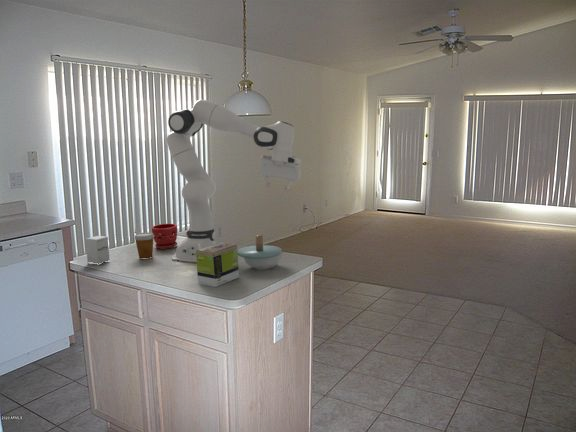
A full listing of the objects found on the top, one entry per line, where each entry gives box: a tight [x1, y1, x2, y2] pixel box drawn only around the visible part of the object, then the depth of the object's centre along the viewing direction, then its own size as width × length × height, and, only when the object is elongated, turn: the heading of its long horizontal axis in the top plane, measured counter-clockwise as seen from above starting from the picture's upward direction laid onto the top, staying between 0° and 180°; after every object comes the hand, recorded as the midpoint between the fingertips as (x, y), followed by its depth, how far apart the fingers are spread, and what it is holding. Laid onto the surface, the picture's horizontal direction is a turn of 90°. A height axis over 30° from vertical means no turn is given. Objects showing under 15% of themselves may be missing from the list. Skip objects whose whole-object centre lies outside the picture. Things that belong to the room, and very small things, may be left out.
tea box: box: [196, 241, 240, 288], centre depth 203 cm, size 15×10×15 cm, turn 145°
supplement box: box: [85, 235, 110, 264], centre depth 236 cm, size 7×7×13 cm
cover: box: [237, 234, 283, 258], centre depth 221 cm, size 20×20×8 cm
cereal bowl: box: [243, 253, 282, 271], centre depth 223 cm, size 17×17×7 cm
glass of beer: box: [133, 232, 154, 259], centre depth 244 cm, size 10×10×12 cm
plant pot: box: [151, 223, 178, 250], centre depth 265 cm, size 13×13×12 cm
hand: (277, 187), depth 225 cm, fingers open, 8 cm apart
